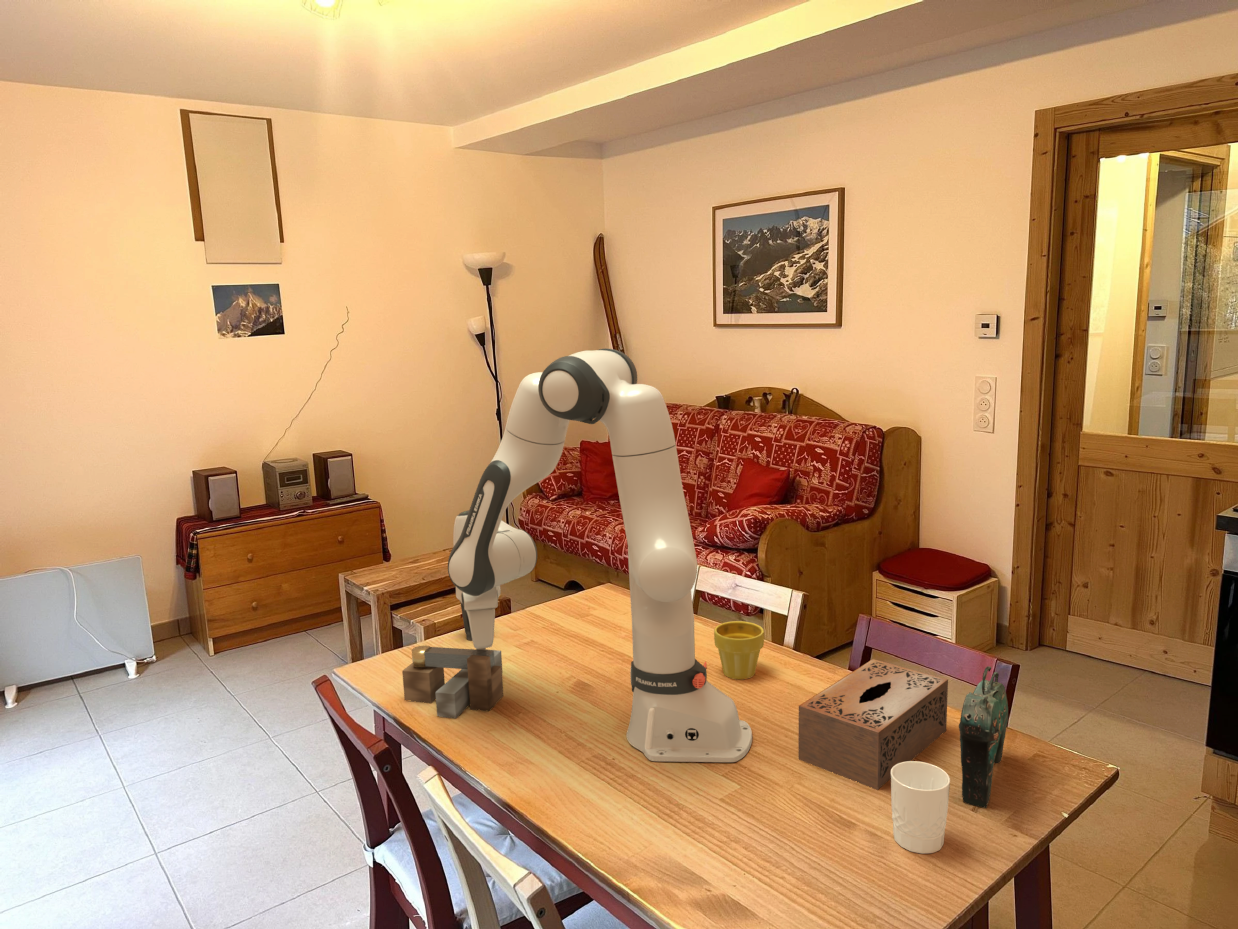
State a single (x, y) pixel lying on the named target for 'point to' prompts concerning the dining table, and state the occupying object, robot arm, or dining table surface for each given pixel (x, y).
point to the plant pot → (739, 647)
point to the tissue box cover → (872, 721)
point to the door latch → (457, 686)
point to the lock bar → (446, 657)
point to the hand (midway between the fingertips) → (481, 652)
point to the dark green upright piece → (982, 738)
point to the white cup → (919, 805)
